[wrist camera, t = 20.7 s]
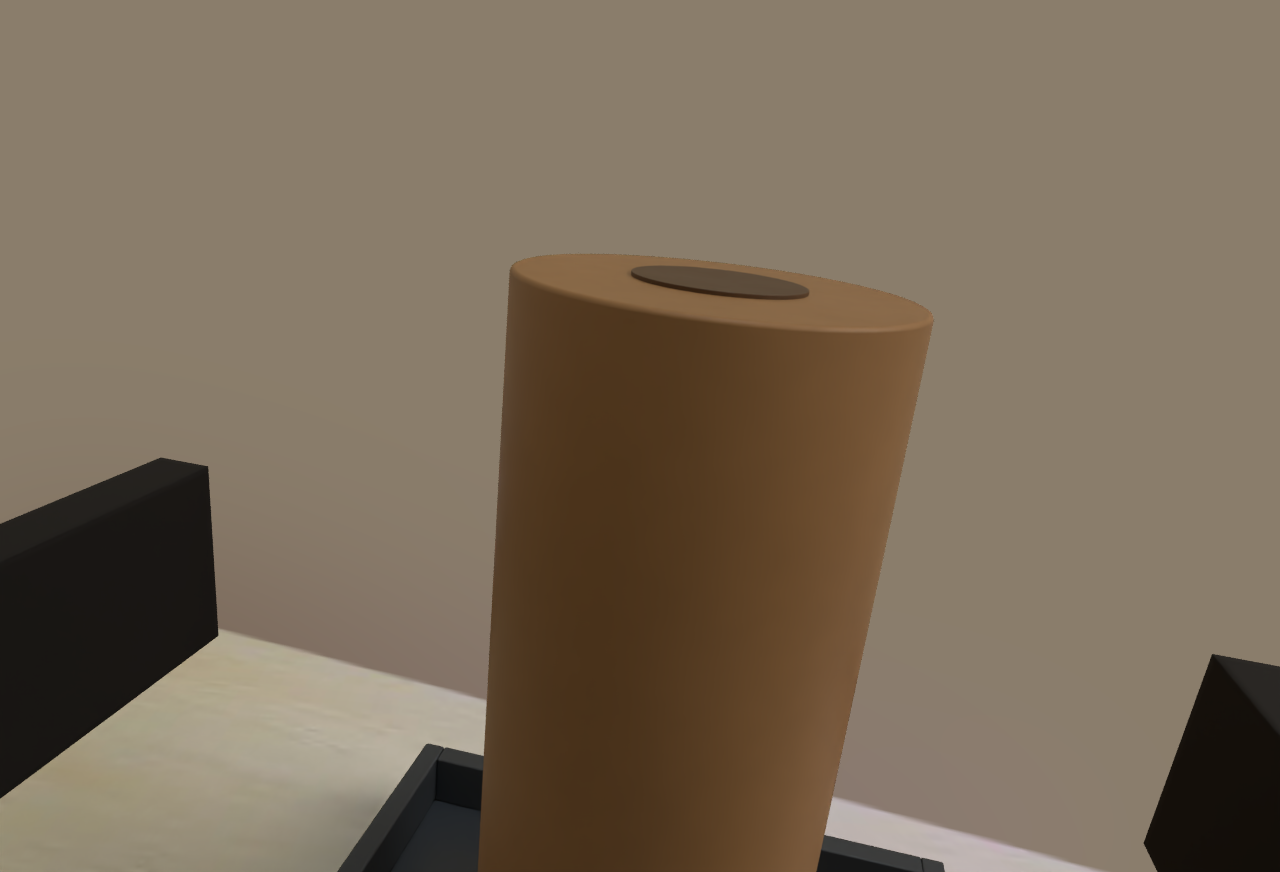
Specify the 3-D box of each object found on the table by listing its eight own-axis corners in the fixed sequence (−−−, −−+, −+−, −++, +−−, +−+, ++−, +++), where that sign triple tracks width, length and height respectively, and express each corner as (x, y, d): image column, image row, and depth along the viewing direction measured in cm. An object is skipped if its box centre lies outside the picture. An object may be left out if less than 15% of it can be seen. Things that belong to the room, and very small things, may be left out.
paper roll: (780, 930, 22) (911, 282, 17) (765, 1246, 15) (970, 346, 10) (528, 866, 23) (576, 240, 18) (413, 1136, 17) (436, 274, 11)
